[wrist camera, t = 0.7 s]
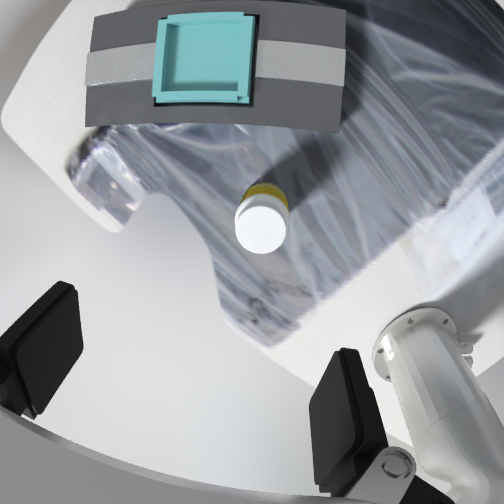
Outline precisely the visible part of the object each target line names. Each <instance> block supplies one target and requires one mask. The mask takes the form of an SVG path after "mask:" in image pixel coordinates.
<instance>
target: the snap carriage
mask: <svg viewBox="0 0 504 504" xmlns="http://www.w3.org/2000/svg"><path fill="white" fill-rule="evenodd" d="M255 33H256V19H255V16H245V15H244V12H205V13H188V14H175V15H168V18H167V19H163V20H159V22H158V30H157V39H156V49H155V60H154V72H153V86H152V97H156V102H157V103H163V104H164V103H232V104H251V89H252V75H253V61H254V47H255Z"/></svg>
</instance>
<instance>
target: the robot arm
mask: <svg viewBox="0 0 504 504" xmlns="http://www.w3.org/2000/svg"><path fill="white" fill-rule="evenodd" d="M456 335H457V333H456V327H455V324H454V322H453V320H452V319H451V317H450V316H449V315H448V314H447V313H446V312H444V311H442V310H440V309H437V308H420V309H416V310H413V311H410V312H408V313H406V314H404V315H402V316H400V317H399V318H397V319H396V320H394V321H393V322H392V323H391V324H390V325H388V326H387V327H386V328H385V330H384V331H383V332H382V333H381V334H380V336H379V338H378V339H377V341H376V343H375V346H374V348H373V354H372V360H373V364H374V368H375V370H376V372H377V374H378V375H379V376H380V377H381V378H383V379H384V380H386V381H389V382H392V383H393V386H394V389H395V392H396V395H397V397H398V400H399V403H400V406H401V409H402V412H403V415H404V418H405V421H406V424H407V427H408V430H409V434H410V437H411V440H412V443H413V446H414V450H415V453H416V457H417V460H418V462H419V465H420V466H421V468H422V469H423V470H424V471H425V472H426V473H427V474H428V475H430V476H432V477H434V478H437V479H440V480H443V481H446V482H449V483H451V485H452V488H451V489H450V490H449V491H448V492H447V493H445V494H443V493H442V492H440V491H439V490H437V489H436V488H434V487H433V486H431V485H430V484H428V483H427V482H425V481H424V480H422V479H421V478H419V477H418V476H416V475H415V473H416V463H415V460H414V458H413V457H412V455H411V454H410V453H409V452H407V451H406V450H404V449H402V448H400V447H389V445H388V441H387V437H386V434H385V430H384V426H383V423H382V419H381V415H380V412H379V408H378V405H377V402H376V398H375V395H374V392H373V390H372V388H371V387H369V384H368V381H367V378H366V374H365V371H364V368H363V364H362V361H361V358H360V355H359V352H358V350H356V349H349V348H341V349H340V350H339V351H335V352H334V354H333V356H332V358H331V360H330V362H329V364H328V366H327V368H326V370H325V372H324V374H323V376H322V378H321V380H320V382H319V384H318V386H317V388H316V390H315V392H314V394H313V396H312V398H311V400H310V404H309V414H310V427H311V439H312V452H313V467H314V481H315V484H316V485H319V490H320V493H331V497H320V496H301V495H288V494H277V493H266V492H258V491H249V490H242V489H235V488H229V487H223V486H217V485H212V484H207V483H202V482H197V481H192V480H188V479H184V478H179V477H175V476H171V475H167V474H164V473H160V472H156V471H153V470H149V469H146V468H143V467H139V466H136V465H133V464H130V463H127V462H124V461H121V460H118V459H115V458H112V457H110V456H107V455H104V454H101V453H99V452H96V451H93V450H91V449H88V448H86V447H84V446H81V445H79V444H77V443H74V442H72V441H70V440H67V439H65V438H63V437H61V436H58V435H56V434H54V433H52V432H50V431H48V430H46V429H44V428H42V427H40V426H38V425H36V424H34V423H32V422H30V421H28V420H26V419H24V418H22V417H21V415H22V414H24V415H25V416H27V417H29V418H31V419H33V420H34V419H35V418H36V416H37V415H38V414H42V413H43V411H44V410H45V408H46V406H47V405H48V403H49V402H50V400H51V399H52V397H53V395H54V394H55V392H56V391H57V389H58V388H59V386H60V385H61V383H62V382H63V380H64V379H65V377H66V376H67V374H68V373H69V371H70V370H71V368H72V367H73V365H74V364H75V362H76V361H77V360H78V358H79V357H80V355H81V354H82V351H83V338H82V331H81V321H80V312H79V302H78V292H77V290H75V288H74V286H73V285H72V284H69V283H66V282H63V281H58V282H57V283H56V284H54V285H53V286H52V287H51V288H50V289H49V290H48V291H47V292H46V293H45V294H44V295H42V297H40V298H39V299H38V300H37V301H36V302H35V303H34V304H33V305H32V306H31V307H30V308H29V309H28V310H27V311H26V312H25V313H24V314H23V315H22V316H21V317H20V318H18V319H17V321H15V322H14V324H12V326H10V327H9V328H8V330H7V331H6V332H5V333H4V334H3V335H2V336H1V337H0V504H504V426H503V425H502V423H501V421H500V419H499V418H498V416H497V414H496V412H495V410H494V408H493V406H492V405H491V403H490V401H489V399H488V398H487V396H486V394H485V392H484V391H483V389H482V387H481V386H480V384H479V382H478V381H477V379H476V377H475V375H474V374H473V372H472V370H471V369H470V368H471V367H472V364H473V359H472V357H471V356H462V354H471V353H472V351H473V346H472V345H471V344H465V345H460V344H459V342H458V341H457V339H456Z"/></svg>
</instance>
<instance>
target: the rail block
mask: <svg viewBox="0 0 504 504" xmlns="http://www.w3.org/2000/svg"><path fill="white" fill-rule="evenodd" d="M205 12H244V15H245V16H255V19H256V33H255V47H254V61H253V75H252V89H251V104H232V103H164V104H163V103H157V102H156V97H152V86H153V72H154V60H155V49H156V39H157V30H158V22H159V20H163V19H167V18H168V15H175V14H188V13H205ZM345 34H346V10H343V9H337V8H331V7H324V6H317V5H309V4H300V3H290V2H277V1H257V0H215V1H195V2H182V3H172V4H163V5H155V6H148V7H142V8H136V9H130V10H124V11H119V12H114V13H109V14H105V15H101V16H96V17H94V24H93V31H92V38H91V46H90V53H88V54H87V64H86V76H85V86H87V92H86V116H85V127H93V126H106V125H121V124H142V123H226V124H247V125H263V126H276V127H287V128H297V129H307V130H316V131H324V132H331V133H339V129H340V118H341V106H342V92H343V87H344V75H345V57H346V49H345Z"/></svg>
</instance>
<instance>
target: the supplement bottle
mask: <svg viewBox="0 0 504 504" xmlns="http://www.w3.org/2000/svg"><path fill="white" fill-rule="evenodd" d="M235 226H236V235H237V238H238V240H239V242H240V243H241V245H242V246H243V247H244V248H246V249H247V250H249V251H251V252H254V253H259V254H263V253H269V252H272V251H274V250H275V249H277V248H278V247H279V246H280V245H281V244H282V243H283V241H284V239H285V236H286V234H287V232H288V230H289V226H290V215H289V208H288V200H287V197H286V195H285V193H284V191H283V190H282V189H281V188H280V187H279V186H277V185H275V184H273V183H270V182H259V183H256V184H254V185H252V186H251V187H249V188H248V189H247V190H246V192H245V193H244V195H243V197H242V199H241V201H240V204H239V206H238V208H237V211H236V214H235Z"/></svg>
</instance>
